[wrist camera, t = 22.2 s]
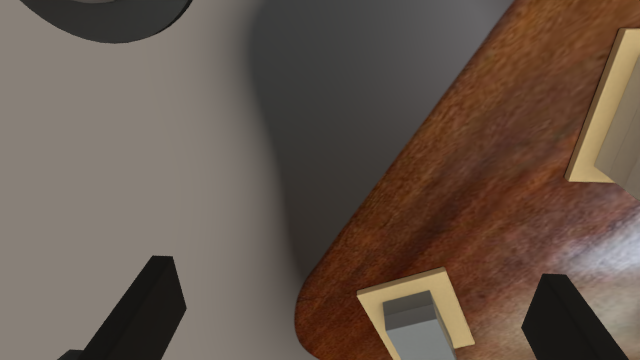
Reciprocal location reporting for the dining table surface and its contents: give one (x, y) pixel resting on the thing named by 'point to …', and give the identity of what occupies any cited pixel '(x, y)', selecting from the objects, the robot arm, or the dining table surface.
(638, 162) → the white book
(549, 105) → the dining table surface
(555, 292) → the robot arm
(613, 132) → the cream box
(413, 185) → the dining table surface
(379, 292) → the grey stack
